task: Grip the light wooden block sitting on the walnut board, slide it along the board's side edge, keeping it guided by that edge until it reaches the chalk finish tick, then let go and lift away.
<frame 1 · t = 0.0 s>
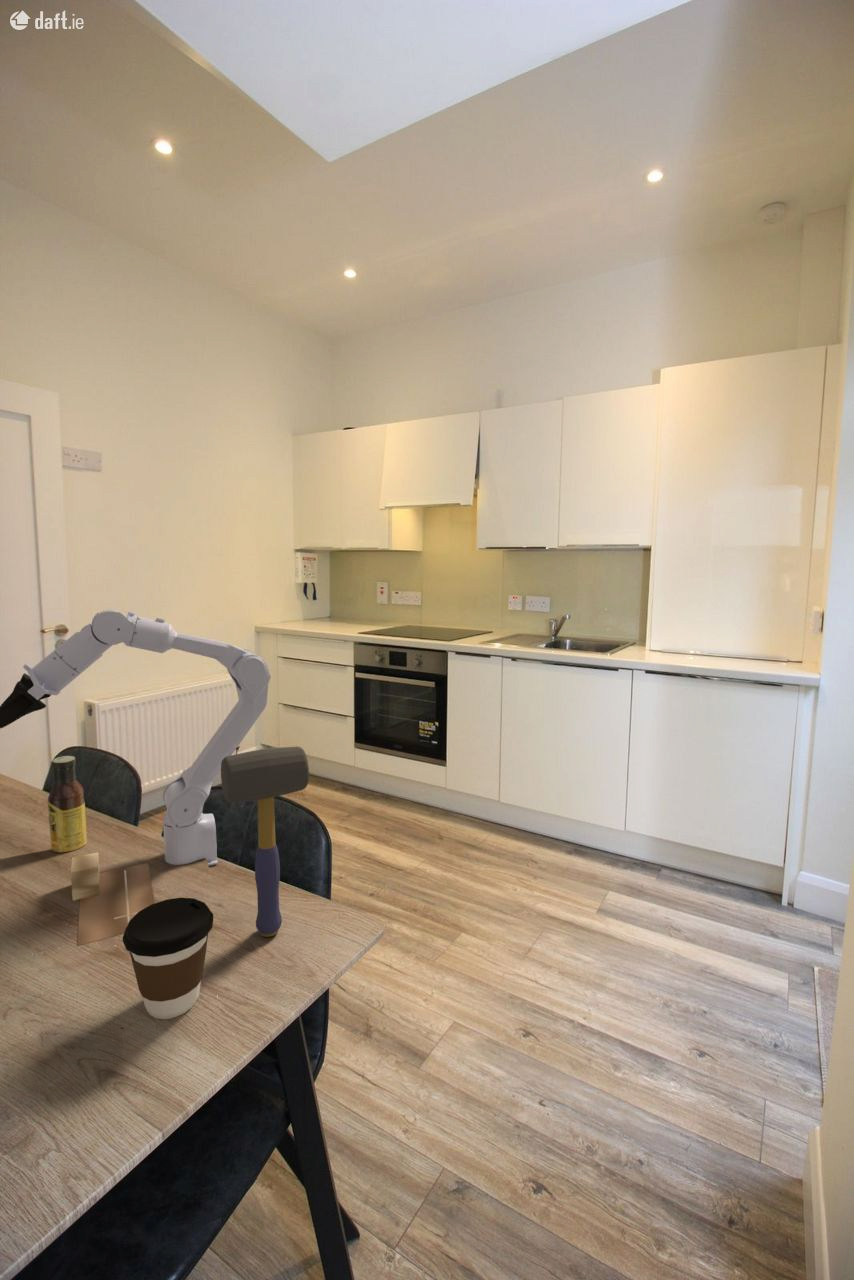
coffee cup: (173, 1003, 78), on the table
light wooden block: (86, 889, 102), point 1 cm above the table, touching walnut board
sauce bottle: (70, 853, 118), on the table
walnut board: (117, 907, 99), on the table
rubber mallet: (269, 933, 93), on the table
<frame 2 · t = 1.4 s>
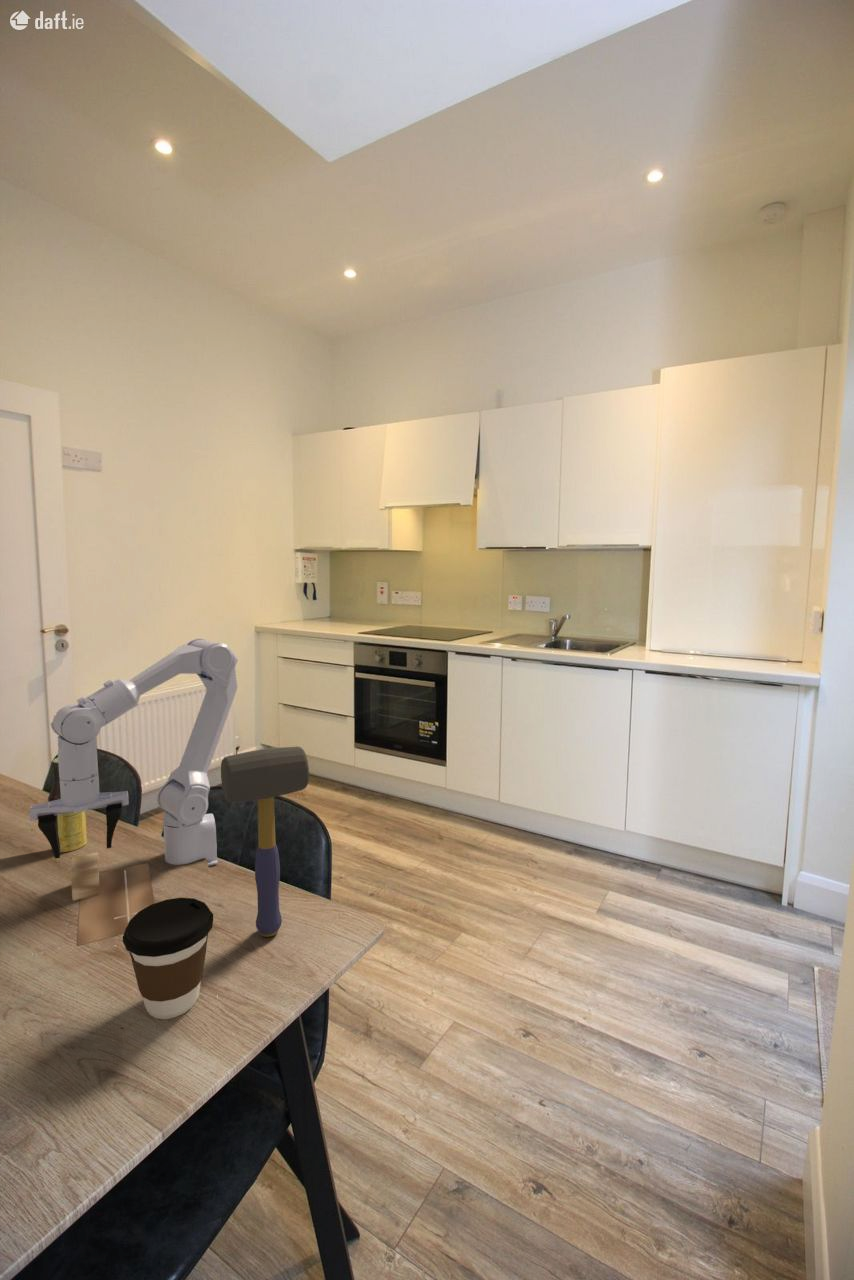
hand: (83, 850, 101), 9 cm above the table, tool pointing down, fingers open, 7 cm apart
nothing on the table moved.
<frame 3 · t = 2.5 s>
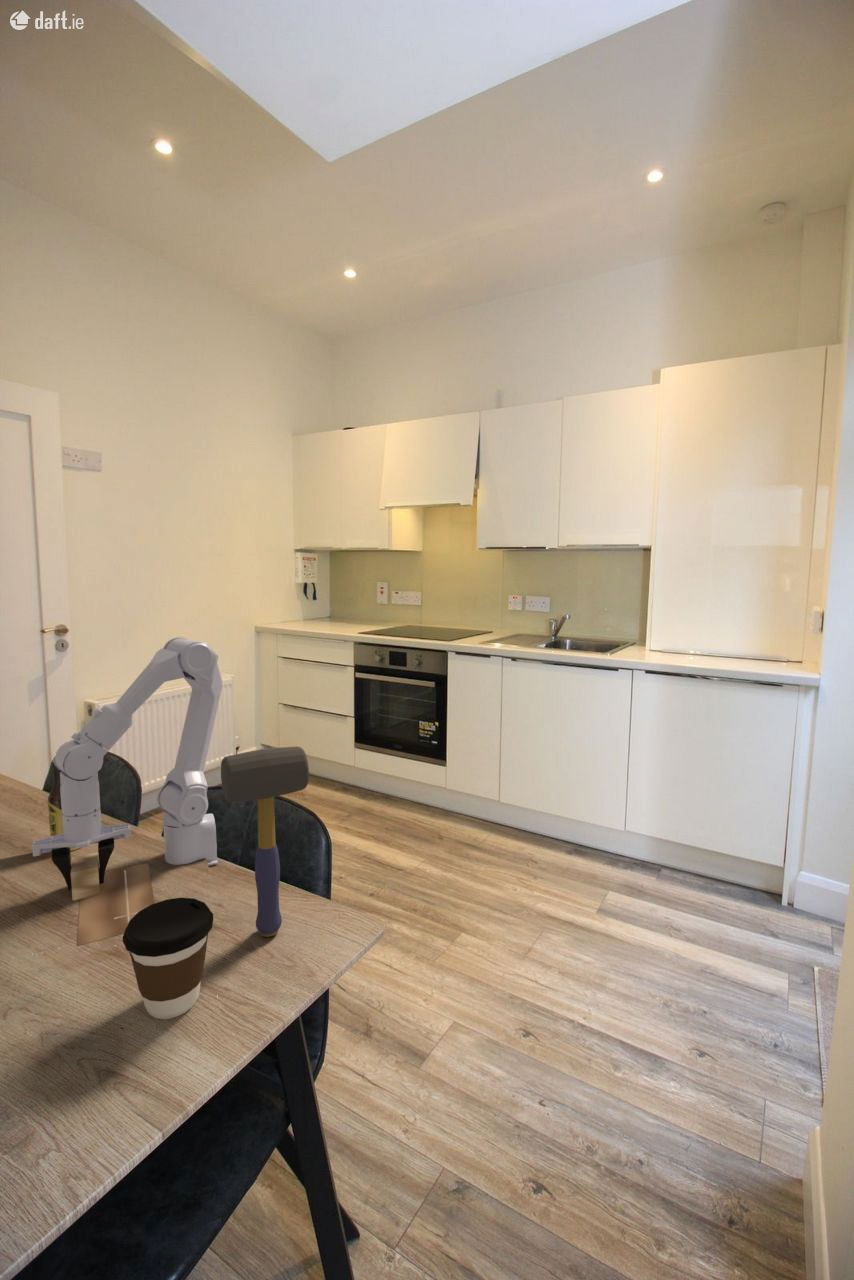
hand: (86, 884, 102), 2 cm above the table, tool pointing down, fingers closed on light wooden block, 4 cm apart
light wooden block: (86, 889, 102), point 1 cm above the table, touching gripper, walnut board
everything else where it was.
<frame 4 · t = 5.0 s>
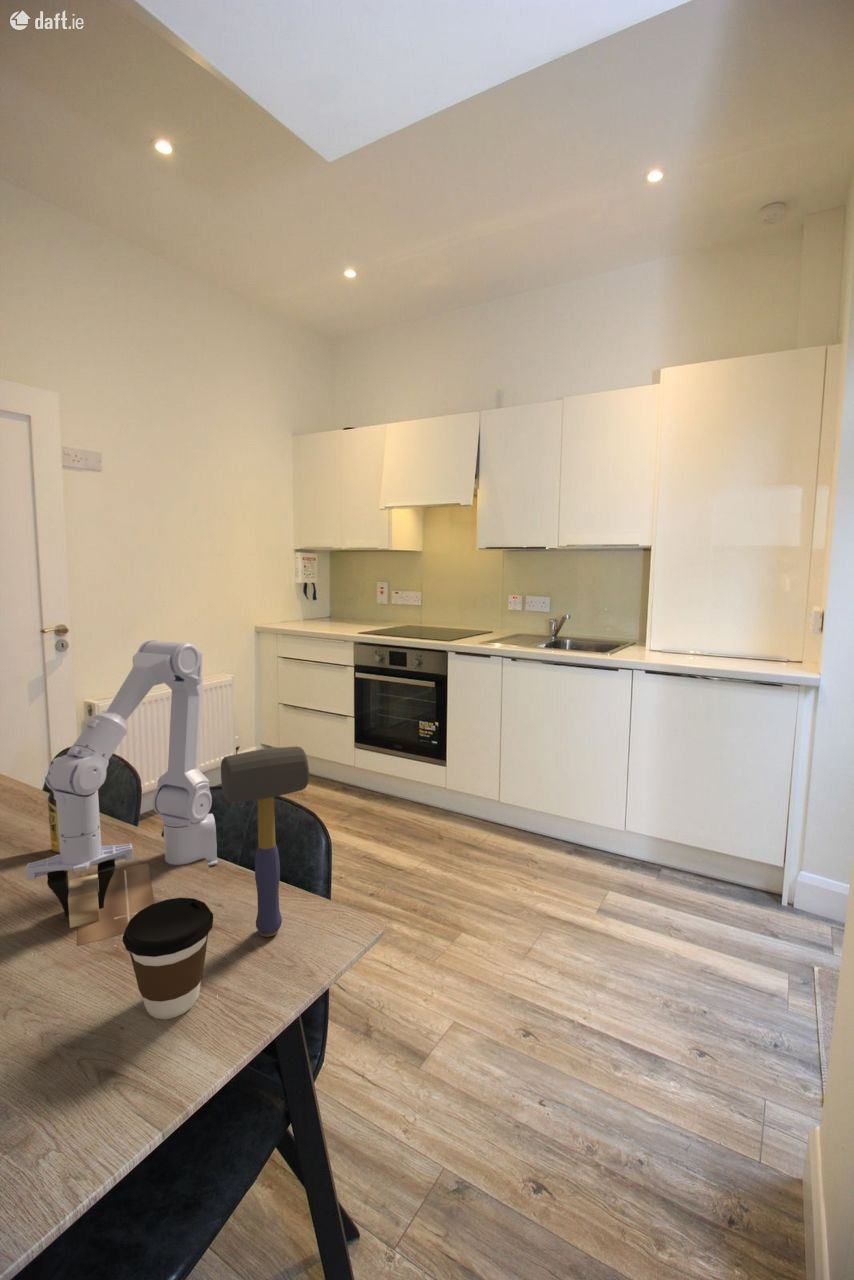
hand: (84, 909, 94), 2 cm above the table, tool pointing down, fingers closed on light wooden block, 4 cm apart
light wooden block: (85, 914, 95), point 2 cm above the table, touching gripper
everything else where it was.
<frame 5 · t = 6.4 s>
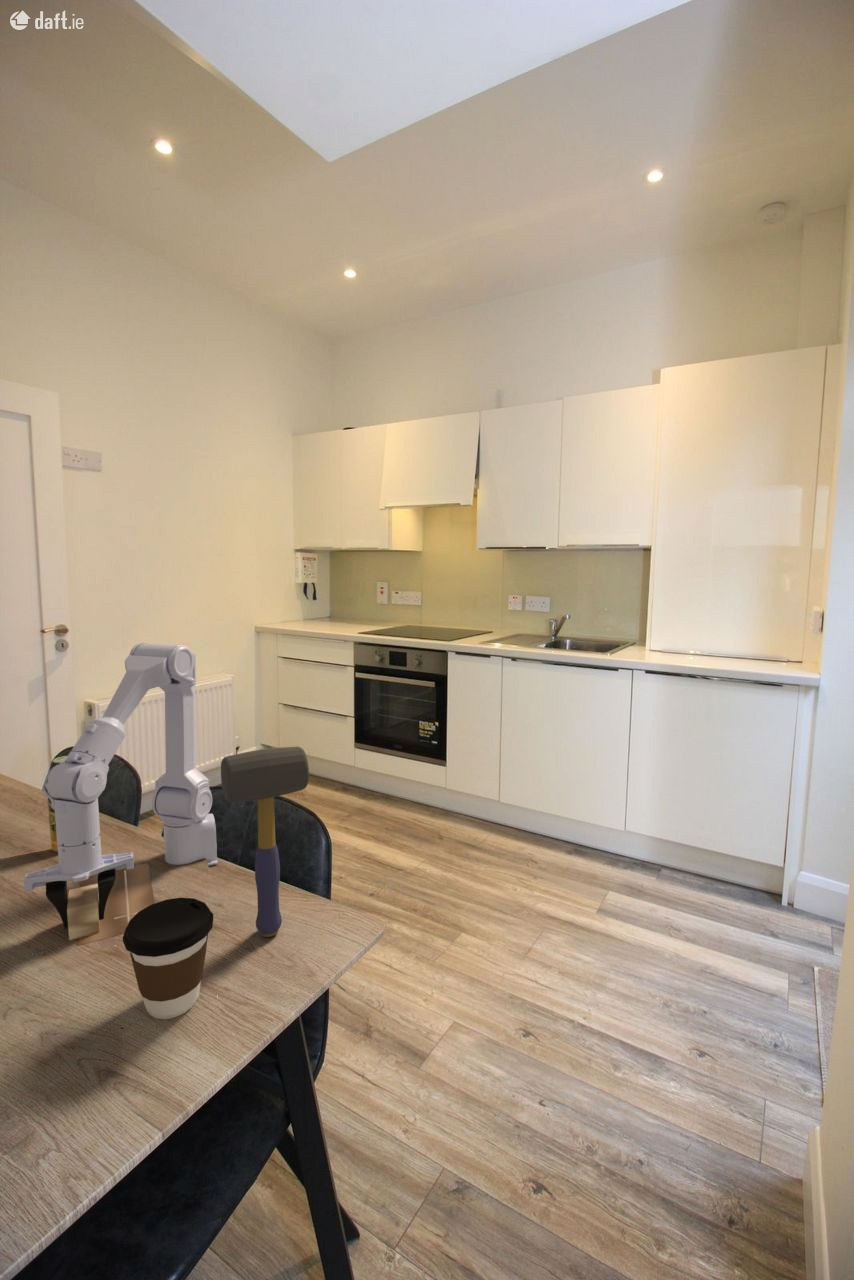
hand: (84, 920, 92), 2 cm above the table, tool pointing down, fingers closed on light wooden block, 4 cm apart
light wooden block: (84, 925, 92), point 2 cm above the table, touching gripper, walnut board
everything else where it was.
when the fingers open (2 cm above the table, at t = 7.3 s): light wooden block stays where it is, resting on walnut board.
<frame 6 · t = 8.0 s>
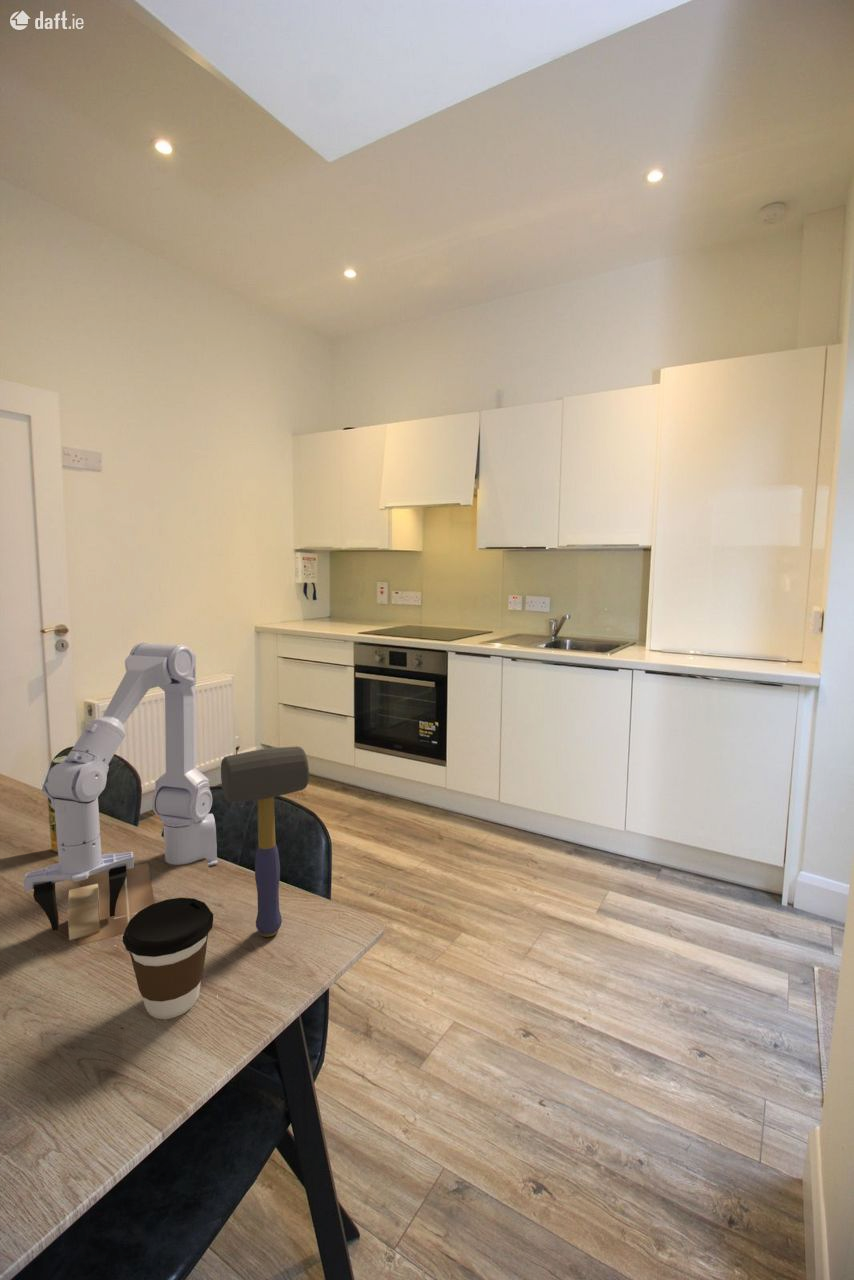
hand: (84, 919, 92), 2 cm above the table, tool pointing down, fingers open, 7 cm apart
light wooden block: (85, 925, 92), point 1 cm above the table, touching walnut board
everything else where it was.
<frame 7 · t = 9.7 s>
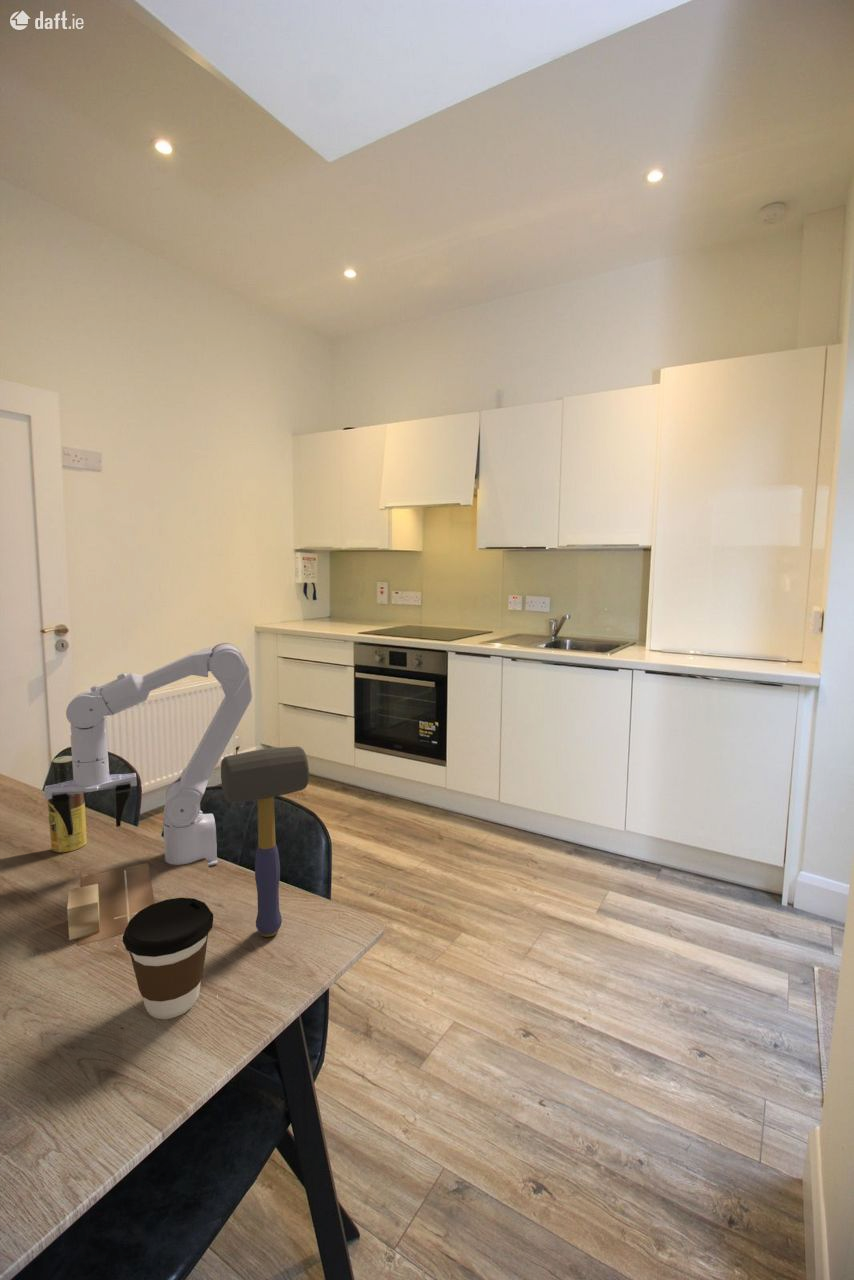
hand: (94, 828, 108), 9 cm above the table, tool pointing down, fingers open, 7 cm apart
nothing on the table moved.
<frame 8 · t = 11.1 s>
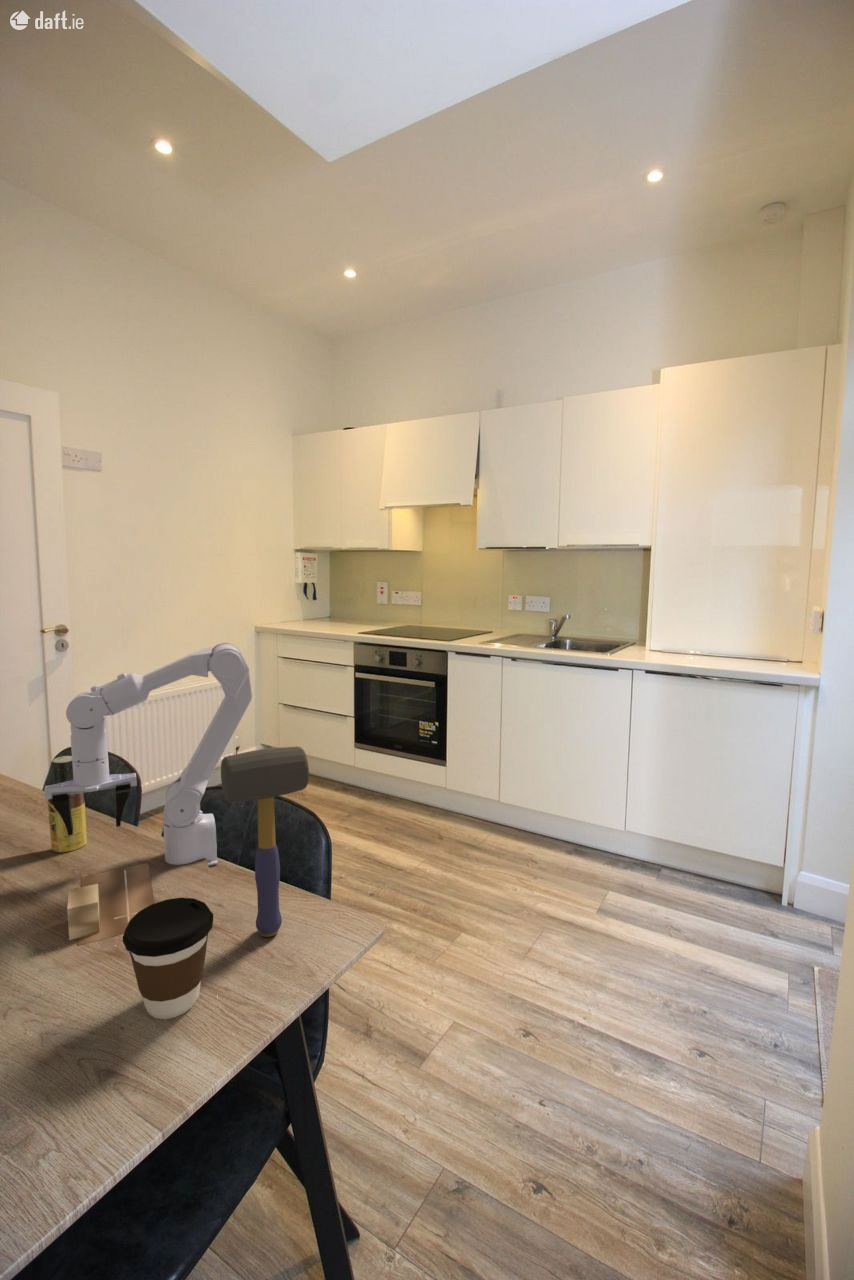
hand: (94, 828, 108), 9 cm above the table, tool pointing down, fingers open, 7 cm apart
nothing on the table moved.
at the end: light wooden block 0.1 cm from the target spot, point 1.5 cm above the table; light wooden block tilted 0°; the gripper is holding nothing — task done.
